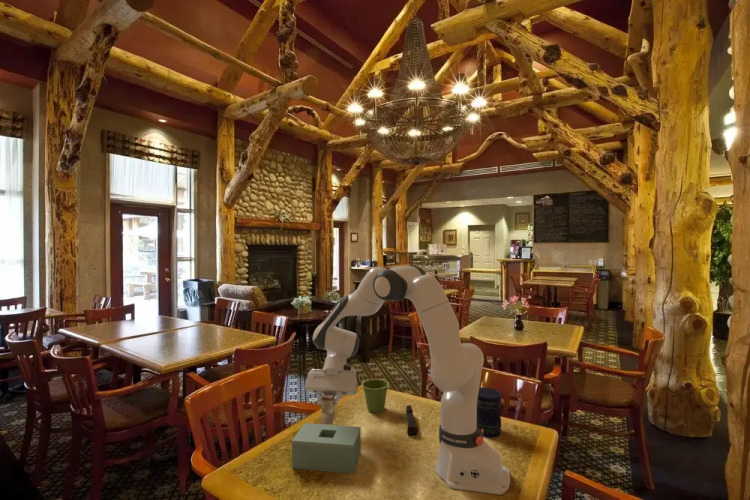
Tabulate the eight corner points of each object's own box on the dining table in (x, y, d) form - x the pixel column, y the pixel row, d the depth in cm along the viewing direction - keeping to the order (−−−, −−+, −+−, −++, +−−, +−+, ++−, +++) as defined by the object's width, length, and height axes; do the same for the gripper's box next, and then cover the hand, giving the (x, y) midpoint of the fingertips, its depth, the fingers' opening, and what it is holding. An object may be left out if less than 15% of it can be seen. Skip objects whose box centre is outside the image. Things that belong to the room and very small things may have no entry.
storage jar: (475, 436, 143) (475, 396, 143) (473, 424, 153) (473, 387, 152) (503, 439, 141) (503, 398, 141) (499, 426, 151) (499, 388, 151)
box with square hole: (360, 453, 132) (360, 427, 132) (353, 473, 121) (353, 445, 120) (304, 448, 135) (304, 423, 135) (292, 468, 124) (291, 440, 123)
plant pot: (377, 401, 175) (377, 376, 175) (394, 410, 166) (394, 384, 166) (356, 408, 168) (356, 383, 167) (373, 418, 158) (373, 391, 158)
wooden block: (334, 419, 148) (334, 393, 148) (332, 424, 144) (332, 397, 144) (324, 418, 148) (324, 392, 148) (321, 423, 144) (321, 397, 144)
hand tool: (418, 437, 144) (418, 424, 143) (407, 436, 144) (407, 424, 144) (415, 414, 162) (415, 403, 162) (405, 414, 163) (405, 403, 163)
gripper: (307, 364, 154) (299, 399, 145) (357, 367, 151) (352, 402, 142) (311, 372, 159) (303, 405, 149) (360, 374, 156) (355, 409, 146)
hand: (327, 404), depth 145 cm, fingers closed on wooden block, 4 cm apart
